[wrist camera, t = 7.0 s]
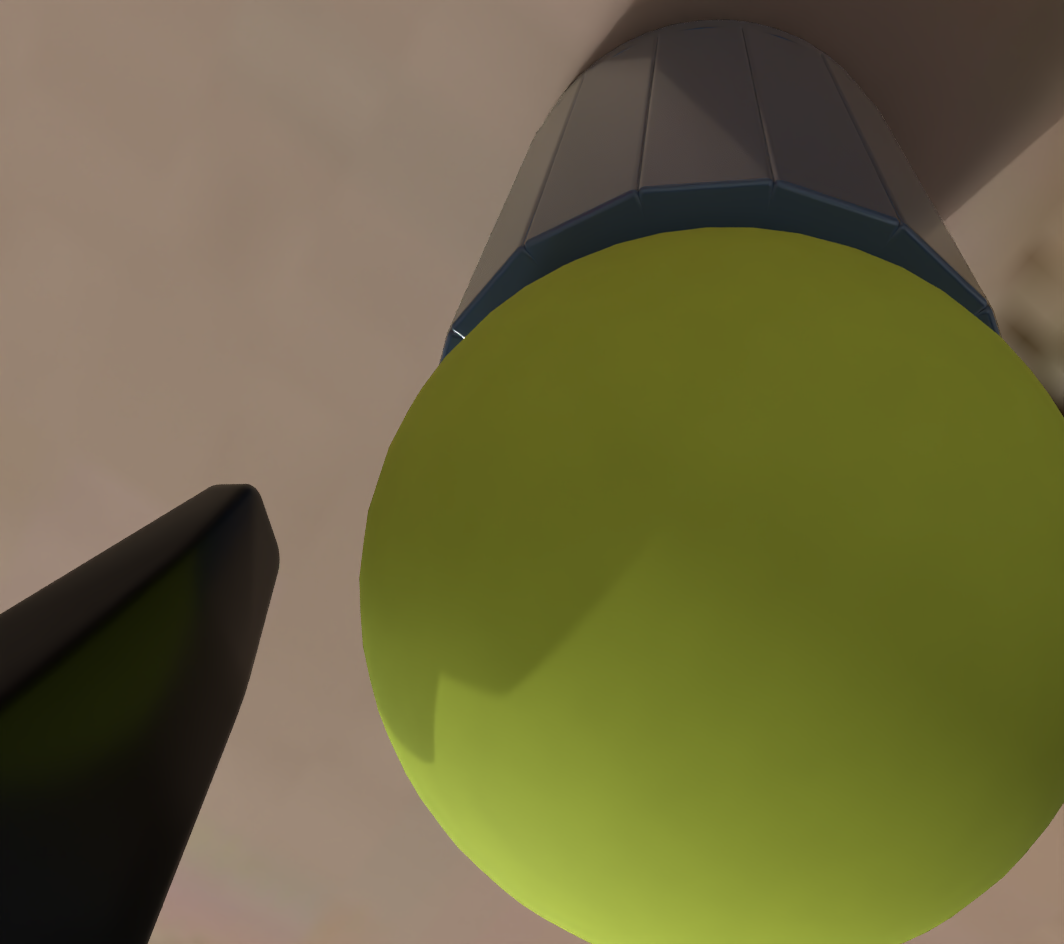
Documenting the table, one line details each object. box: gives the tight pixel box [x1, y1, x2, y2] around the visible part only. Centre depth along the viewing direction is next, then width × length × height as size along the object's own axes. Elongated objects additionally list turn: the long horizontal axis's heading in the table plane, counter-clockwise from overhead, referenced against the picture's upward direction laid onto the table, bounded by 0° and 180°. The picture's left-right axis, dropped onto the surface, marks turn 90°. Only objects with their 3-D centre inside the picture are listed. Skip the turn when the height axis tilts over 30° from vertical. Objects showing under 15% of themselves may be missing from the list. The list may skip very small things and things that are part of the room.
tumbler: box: [439, 19, 1002, 365], centre depth 13 cm, size 6×6×7 cm
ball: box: [359, 227, 1064, 944], centre depth 8 cm, size 6×6×6 cm
